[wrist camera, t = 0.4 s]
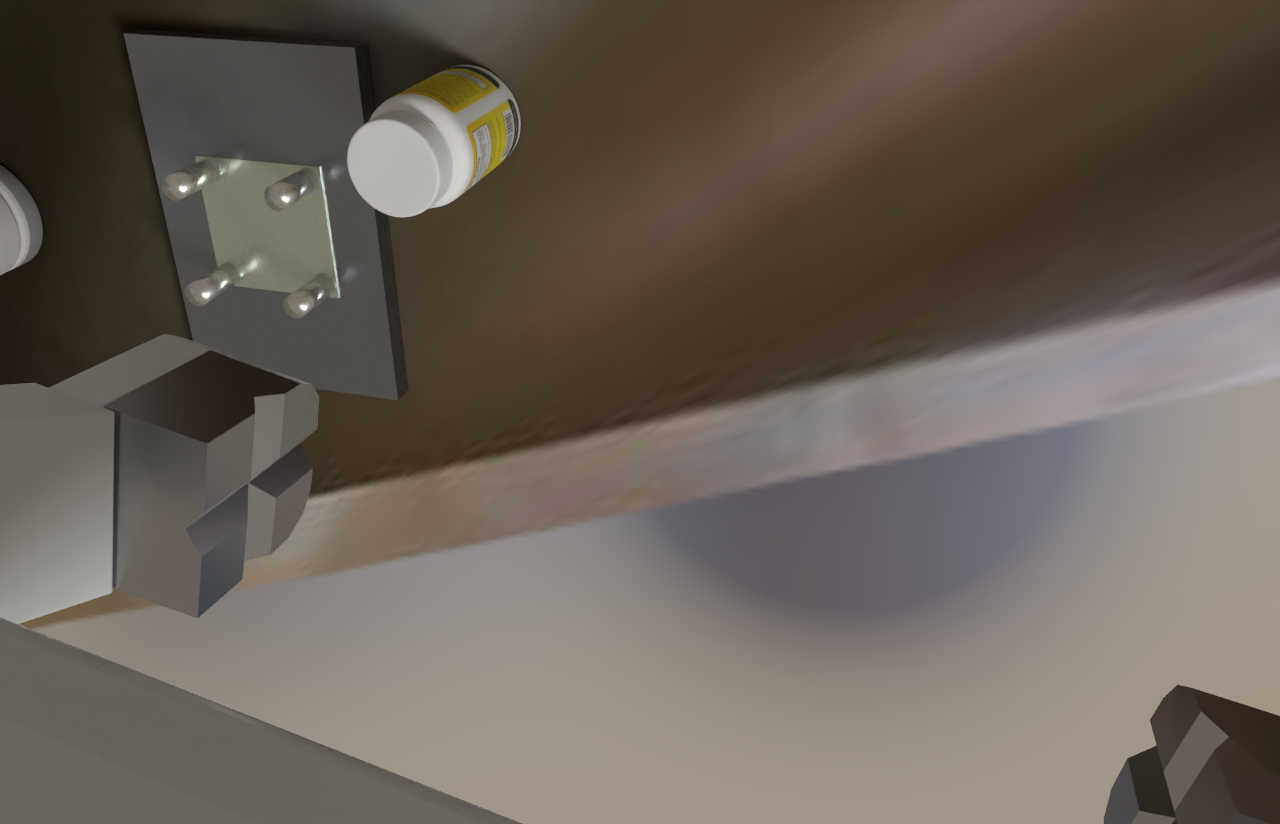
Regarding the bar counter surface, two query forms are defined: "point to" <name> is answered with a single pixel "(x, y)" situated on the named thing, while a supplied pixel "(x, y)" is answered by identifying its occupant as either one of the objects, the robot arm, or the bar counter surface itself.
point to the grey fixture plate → (272, 203)
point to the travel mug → (17, 223)
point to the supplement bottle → (433, 141)
